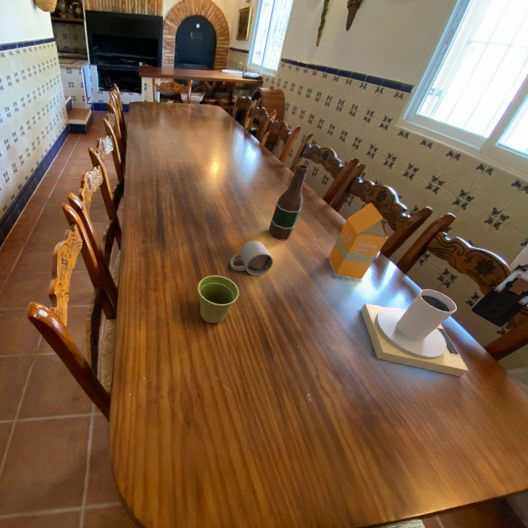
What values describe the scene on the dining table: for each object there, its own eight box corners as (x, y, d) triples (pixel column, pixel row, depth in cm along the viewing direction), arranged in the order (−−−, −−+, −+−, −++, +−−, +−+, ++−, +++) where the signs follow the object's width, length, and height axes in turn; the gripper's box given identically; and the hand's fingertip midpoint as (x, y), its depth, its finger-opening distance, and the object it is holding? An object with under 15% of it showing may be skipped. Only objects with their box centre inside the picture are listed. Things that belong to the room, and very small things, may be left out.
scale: (430, 323, 75) (439, 314, 73) (461, 376, 64) (472, 368, 62) (360, 309, 77) (366, 300, 75) (377, 358, 66) (385, 349, 64)
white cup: (423, 324, 70) (451, 294, 64) (430, 346, 65) (461, 316, 59) (392, 315, 72) (416, 285, 65) (397, 336, 67) (424, 306, 60)
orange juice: (352, 260, 94) (385, 203, 81) (362, 279, 87) (399, 220, 74) (327, 257, 94) (356, 200, 82) (335, 275, 87) (367, 216, 75)
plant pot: (239, 315, 73) (247, 290, 67) (215, 337, 67) (222, 311, 62) (209, 294, 78) (214, 270, 72) (185, 313, 72) (189, 288, 66)
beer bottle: (267, 237, 100) (290, 169, 85) (268, 226, 106) (288, 159, 91) (291, 242, 99) (318, 173, 84) (290, 230, 105) (315, 163, 90)
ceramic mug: (259, 257, 91) (265, 237, 87) (269, 275, 85) (276, 254, 80) (226, 259, 90) (230, 238, 85) (234, 277, 84) (239, 255, 79)
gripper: (690, 219, 22) (512, 353, 33) (707, 182, 30) (557, 301, 40) (555, 180, 27) (438, 308, 38) (599, 157, 34) (491, 269, 45)
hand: (500, 304), depth 39 cm, fingers open, 9 cm apart
